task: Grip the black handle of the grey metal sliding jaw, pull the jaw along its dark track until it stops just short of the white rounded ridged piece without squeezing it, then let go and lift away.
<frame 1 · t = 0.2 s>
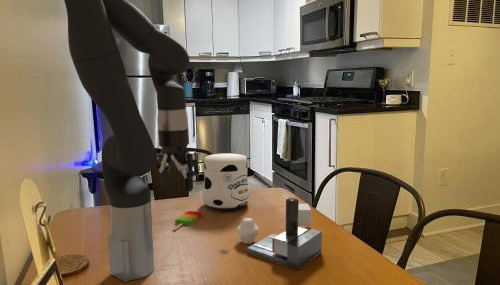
hand: (177, 188, 99), 17 cm above the table, tool pointing down, fingers open, 8 cm apart
sliding jaw: (290, 224, 98), point 9 cm above the table, slide at 0.0 cm
jaw track: (274, 249, 103), on the table
milk container: (226, 206, 140), on the table
white cube: (299, 225, 121), on the table
popsicle: (185, 224, 123), on the table
white rounded ridged piece: (247, 242, 108), on the table
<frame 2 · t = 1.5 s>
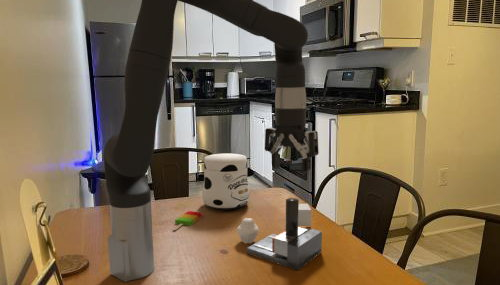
hand: (290, 170, 96), 23 cm above the table, tool pointing down, fingers open, 8 cm apart
nothing on the table moved.
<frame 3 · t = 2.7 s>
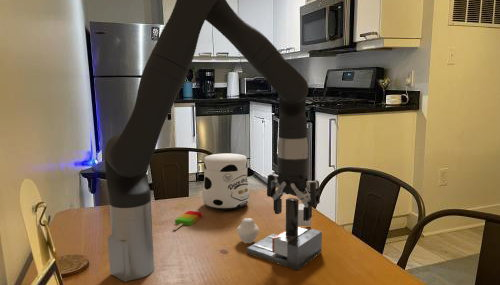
hand: (292, 216, 98), 10 cm above the table, tool pointing down, fingers open, 8 cm apart
nothing on the table moved.
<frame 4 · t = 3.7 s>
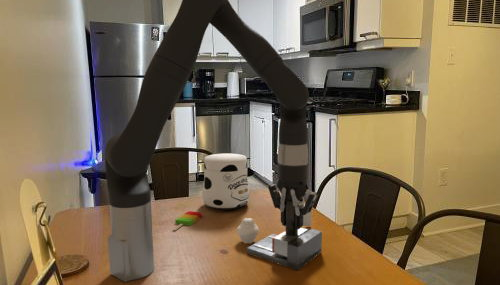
hand: (291, 226, 98), 8 cm above the table, tool pointing down, fingers closed on sliding jaw, 3 cm apart
sliding jaw: (290, 224, 98), point 8 cm above the table, slide at 0.0 cm, touching gripper
everything else where it was.
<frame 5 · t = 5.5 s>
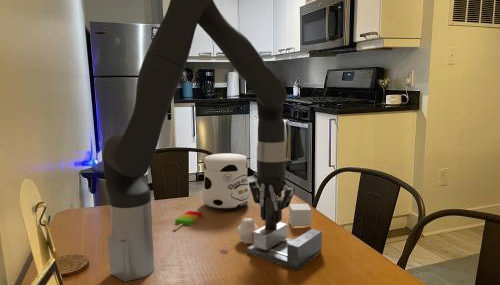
hand: (271, 220, 102), 8 cm above the table, tool pointing down, fingers closed on sliding jaw, 3 cm apart
sliding jaw: (270, 218, 102), point 9 cm above the table, slide at 6.6 cm, touching gripper
everything else where it was.
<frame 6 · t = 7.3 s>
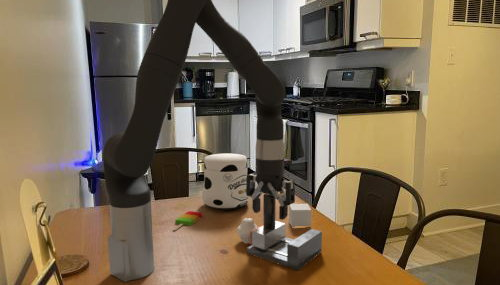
hand: (269, 215, 102), 9 cm above the table, tool pointing down, fingers open, 8 cm apart
sliding jaw: (268, 218, 103), point 9 cm above the table, slide at 7.1 cm
everything else where it was.
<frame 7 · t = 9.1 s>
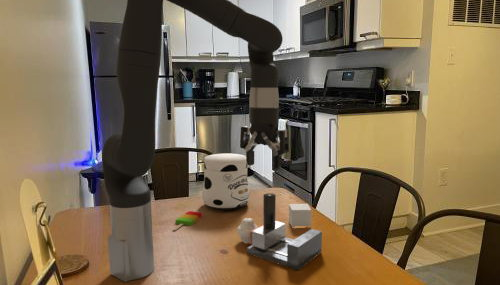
hand: (263, 167, 101), 22 cm above the table, tool pointing down, fingers open, 8 cm apart
nothing on the table moved.
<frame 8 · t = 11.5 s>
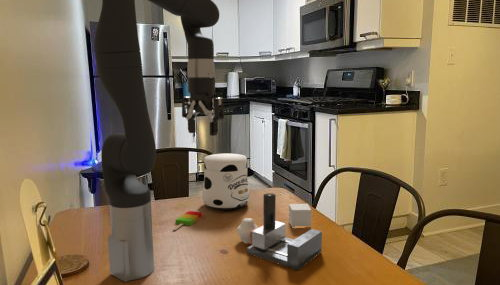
hand: (202, 134, 108), 30 cm above the table, tool pointing down, fingers open, 8 cm apart
nothing on the table moved.
at the end: sliding jaw slide at 7.1 cm; white rounded ridged piece moved 0.2 cm from its start; the gripper is holding nothing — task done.
